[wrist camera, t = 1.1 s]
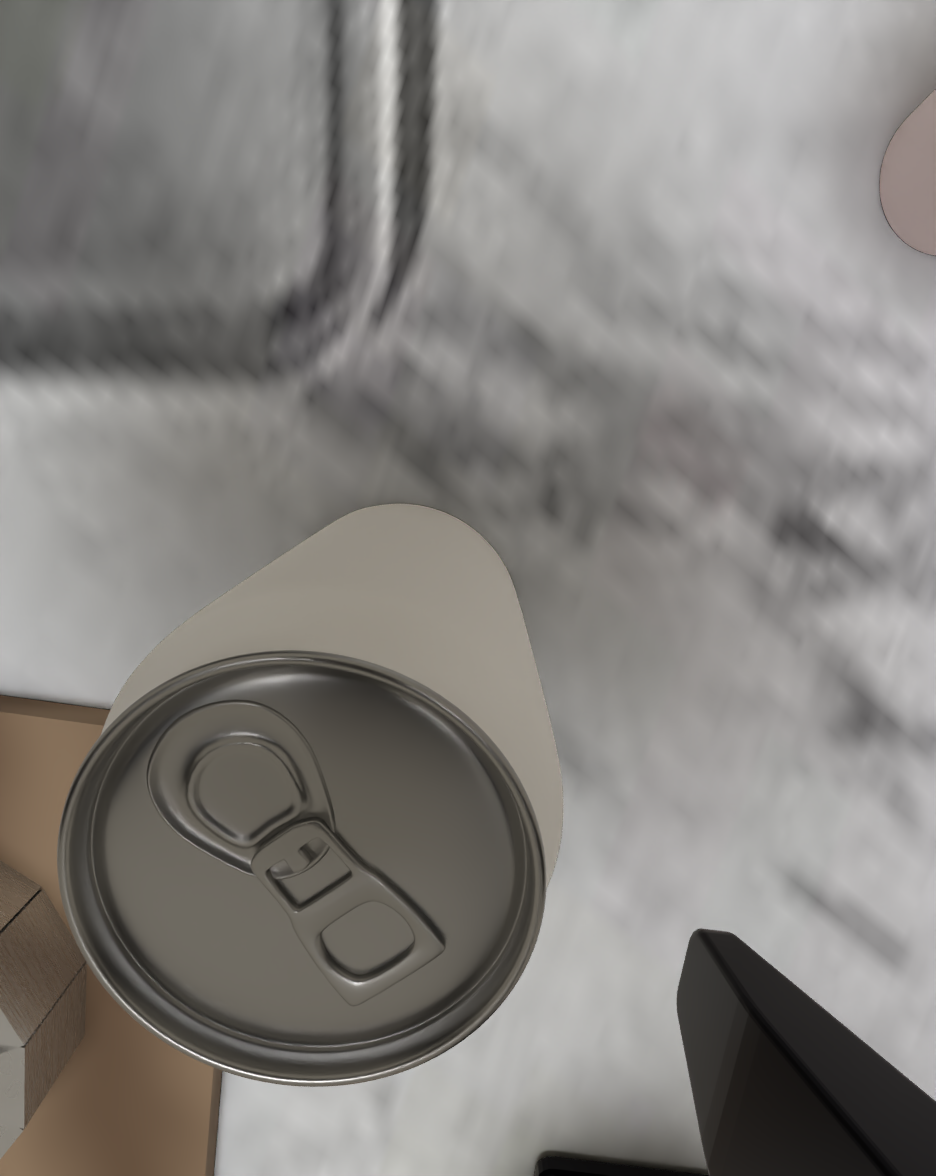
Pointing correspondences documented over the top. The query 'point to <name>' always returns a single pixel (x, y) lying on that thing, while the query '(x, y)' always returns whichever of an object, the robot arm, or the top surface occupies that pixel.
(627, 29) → the top surface
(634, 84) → the top surface
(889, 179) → the smoothie
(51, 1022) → the ring collar
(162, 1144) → the base plate
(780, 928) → the top surface
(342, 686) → the can
